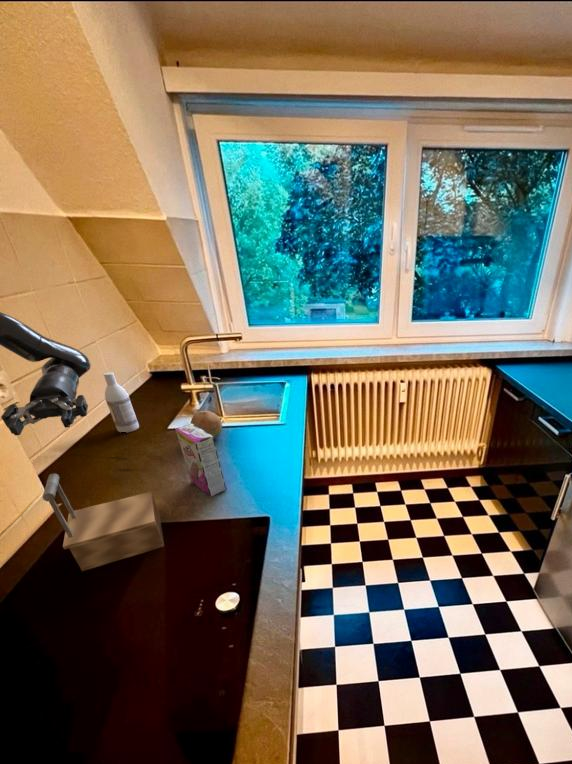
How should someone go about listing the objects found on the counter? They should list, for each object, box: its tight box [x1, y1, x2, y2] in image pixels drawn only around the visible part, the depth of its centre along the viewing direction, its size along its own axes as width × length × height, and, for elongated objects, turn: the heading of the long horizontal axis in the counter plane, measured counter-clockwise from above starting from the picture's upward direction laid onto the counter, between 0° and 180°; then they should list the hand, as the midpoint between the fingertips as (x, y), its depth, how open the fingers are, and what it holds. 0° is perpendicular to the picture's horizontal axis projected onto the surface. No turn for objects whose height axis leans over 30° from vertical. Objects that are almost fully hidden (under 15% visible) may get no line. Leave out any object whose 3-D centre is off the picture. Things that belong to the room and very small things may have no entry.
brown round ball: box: [190, 410, 223, 440], centre depth 127 cm, size 10×10×10 cm
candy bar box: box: [174, 423, 227, 498], centre depth 101 cm, size 11×5×16 cm, turn 47°
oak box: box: [68, 495, 165, 572], centre depth 85 cm, size 16×13×6 cm
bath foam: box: [103, 371, 140, 434], centre depth 131 cm, size 7×7×20 cm
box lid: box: [42, 472, 156, 550], centre depth 80 cm, size 16×13×12 cm
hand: (40, 427), depth 77 cm, fingers open, 8 cm apart
